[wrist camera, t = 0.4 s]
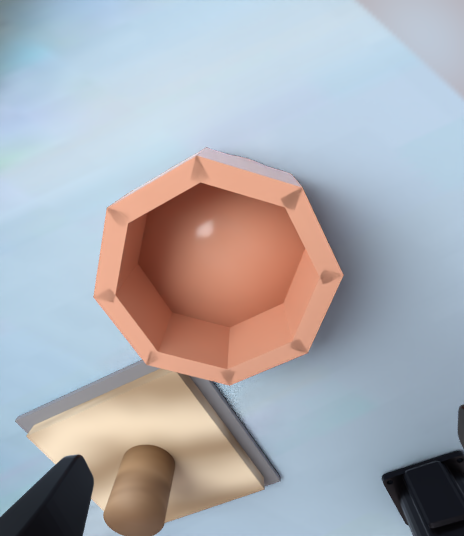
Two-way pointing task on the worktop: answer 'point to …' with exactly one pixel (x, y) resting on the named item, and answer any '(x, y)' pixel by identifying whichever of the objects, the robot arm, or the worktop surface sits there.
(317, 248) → the bowl
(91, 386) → the mat
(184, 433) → the lid
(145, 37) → the worktop surface
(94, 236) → the worktop surface
